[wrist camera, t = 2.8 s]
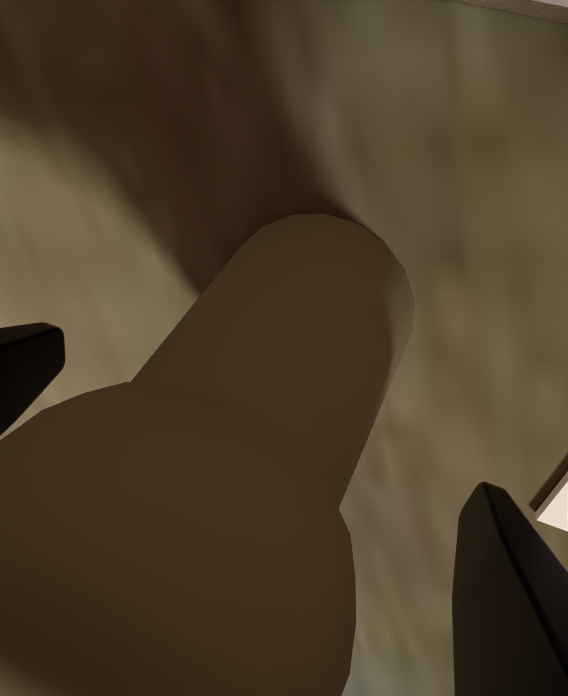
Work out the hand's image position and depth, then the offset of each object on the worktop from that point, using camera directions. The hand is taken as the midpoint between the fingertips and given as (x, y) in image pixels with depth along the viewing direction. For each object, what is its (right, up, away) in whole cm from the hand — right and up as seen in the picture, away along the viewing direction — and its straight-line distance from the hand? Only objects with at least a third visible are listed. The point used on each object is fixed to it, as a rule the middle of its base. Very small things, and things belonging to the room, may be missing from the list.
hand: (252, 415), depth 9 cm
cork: (+2, +3, +5) cm, 6 cm away
